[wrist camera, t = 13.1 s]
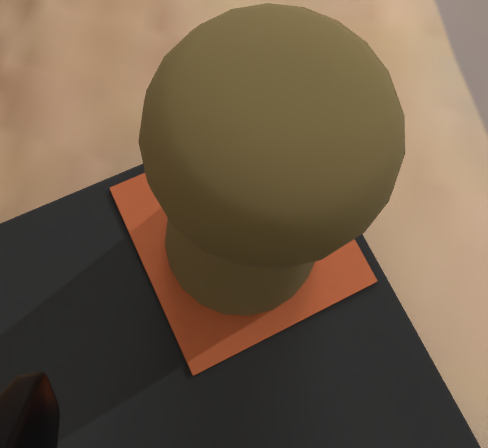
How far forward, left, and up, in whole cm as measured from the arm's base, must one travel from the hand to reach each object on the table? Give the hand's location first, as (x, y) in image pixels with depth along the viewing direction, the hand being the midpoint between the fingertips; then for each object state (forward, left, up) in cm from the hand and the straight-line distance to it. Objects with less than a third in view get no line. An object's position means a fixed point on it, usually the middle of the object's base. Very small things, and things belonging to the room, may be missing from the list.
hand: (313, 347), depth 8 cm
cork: (+4, -1, -10) cm, 11 cm away
